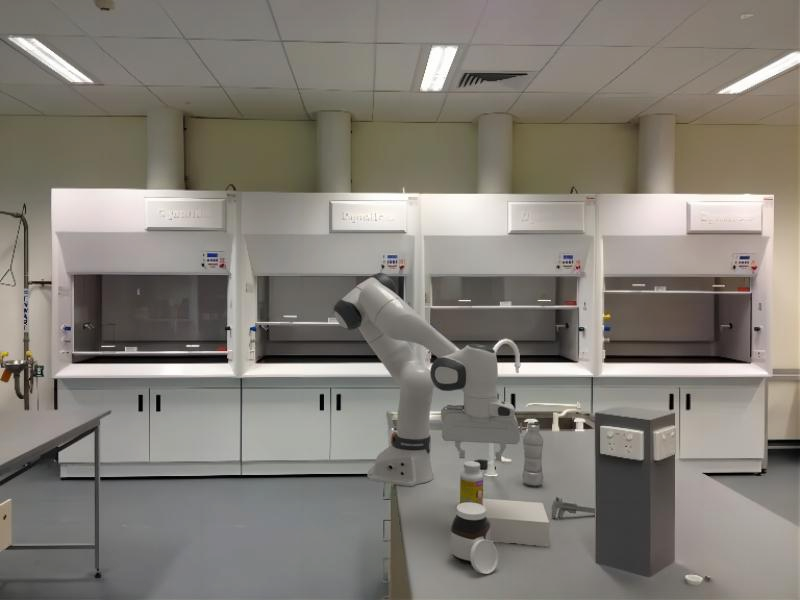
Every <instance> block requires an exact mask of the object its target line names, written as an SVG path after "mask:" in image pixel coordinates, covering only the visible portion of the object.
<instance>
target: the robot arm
mask: <svg viewBox="0 0 800 600" xmlns="http://www.w3.org/2000/svg"><path fill="white" fill-rule="evenodd" d="M397 292H398V290H397V286H396V285H395V283H394V281H393V279H392V278H391V277H389V275H387V274H385V273H383V272H378V273H375V274H373V275H371V276H370V277H369V278H367V279H366V280H364V281H362V282H361V283H359V284H358V285H356V286H355V287H354V288H353V289H352V290H350V291H349V292H348V293H347V294H346V295H345V296H344V297H343V298H341V299H338V301H337V302H336V303H335V304H334V306H333V314H334V317H335V320H336V321H337V322H338V323H337V324H339V325H340V326H341V327H342V328H344V329H346V330H348V331H354V330H356V329H359V331H360V334H361V335H362V337H363V339H364V340H365V341H366V342H367V344H368V346H369V347H370V348H371V349H372V351H373V352H374V354H375V355H376V356H377V358H378V359H379V360H380V361H381V363H382V364H383V367H384V368H385V369H386V370H387V371H388V374H389V375H390V376H391V377H392V379H393V380H394V381H395V383H396V385H398V387H399V389H400V391H399V403H398V408H397V412H396V413H397V414H396V415H397V418H396V420H397V421H396V423H397V424H396V425H397V427H396V430H397V431H395V432H393V433H392V434H391V438H390V443H391V445H389V446H388V447H386V448H385V449H383V451H380V453H378V455H377V456H376V458H375V461H374V465H373V466H372V467H371V468H369V470H368V471H367V475H366V477H367V479H368V480H369V481H370V482H377V483H385V484H391V485H399V486H406V487H414V486H415V485H419V484H424V483H428V482H430V481H432V480H433V479H434V473H433V470H432V463H431V454H430V453H431V448H432V440H431V435H430V416H431V415H430V413H431V408H432V407H431V406H432V401H433V392H434V388H435V387H436V388H437V389H438V390H441V391H444V392H453V391H459V390H460V391H462V392H463V404H462V405H459V404H458V405H452V404H447V405H446V406H443V407H442V408H441V409H440V418H441V421H442V428H441V429H442V430H441V438H442V440H443V441H446V442H454V447H455V448H456V449H457V452H459V454H458V456H459V459H466V458H465V457H466V450H464V449H462V447H461V443H478V444H479V443H481V444H499V447H500V449H499V451H495V452H494V453H495V454H494V455H495V461H502V455H503V453H504V451H505V450H506V447H507V445H517V444H519V443H520V441H521V435H520V427H519V423H518V419H517V417H516V415H515V413H516V409H515V407H514V405H513V404H512V403H509V402H507V401H503V400H501V399H499V397H498V395H499V394H498V390H497V383H498V379H499V373H498V372H499V371H498V359H497V354H496V351H495V350H494V349H493V348H492V347H491V346H488V345H485V344H478V343H469V344H467V345H465V347H464V348H462V347H460V346H458V345H457V344H456V343H454V342H453V341H452V340H450V339H449V337H448V336H446V335H444V334H443V333H442V332H441V331H440V330H438V329H437V328H436V327H435V326H433V325H432V324H431V323H429V322H428V321H427V320H426V319H425V318H423V317H422V316H421V315H420V314H419V313H418V312H416V311H415V310H414V308H412V307H411V306H410V305H409V304H408V303H407V302H406V301H405V300H403V298H401V297H400V296H399V295H398V294H397ZM409 342H410V343H413V344H417V345H420V346H422V347H424V348H426V349H427V350H428V351H429V352H431V354H432V355H434V356H435V357H436V359H435V360H434V361H433V362H432V364H431V367H430V369H429V368H428V367H426V366H425V365H423V364H422V362H421V361H420V359H418V357H417V355H416V354H415V352H414V351H413V349H412V348H411V346H410V344H409Z"/></svg>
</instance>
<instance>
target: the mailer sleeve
mask: <svg viewBox="0 0 800 600" xmlns="http://www.w3.org/2000/svg"><path fill="white" fill-rule="evenodd" d="M482 505H483V506H484V507H485V508H486V517H487V518H488V519H489V522H490V541H494V542H493V543H498V542H506V543H505V544H509V543H517V544H516V545H521V544H525V545H524V546H533V545H536V547H544V546H545V548H546V547H547V548H549V547H550V546H549V545H550V521H549V518H548V516H547V515H548V514H547V512H546V509H545V507H544V503H543V502H537V501H535V502H533V501H520V500H508V499H507V500H505V499H493V498H492V499H491V498H483V501H482ZM526 544H527V545H526Z"/></svg>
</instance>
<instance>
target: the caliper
mask: <svg viewBox="0 0 800 600" xmlns="http://www.w3.org/2000/svg"><path fill="white" fill-rule="evenodd" d="M595 507H596V506H588V505H582V504H578V503H576V502H570V501H566V500H563V498H562V497H561V496H560V497H558V496H556V497H555V499H554V500H553V502H552V505H551V518H552V519H553V520H556V517H557V519H558V518H559V519H558V520H562V517H563V516H564V514H565V512H566V511H567V512H568V513H569V514H574V515H575V514H576V513H577V512H581V513H588V514H596V513H595ZM557 512H558V513H557Z"/></svg>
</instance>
